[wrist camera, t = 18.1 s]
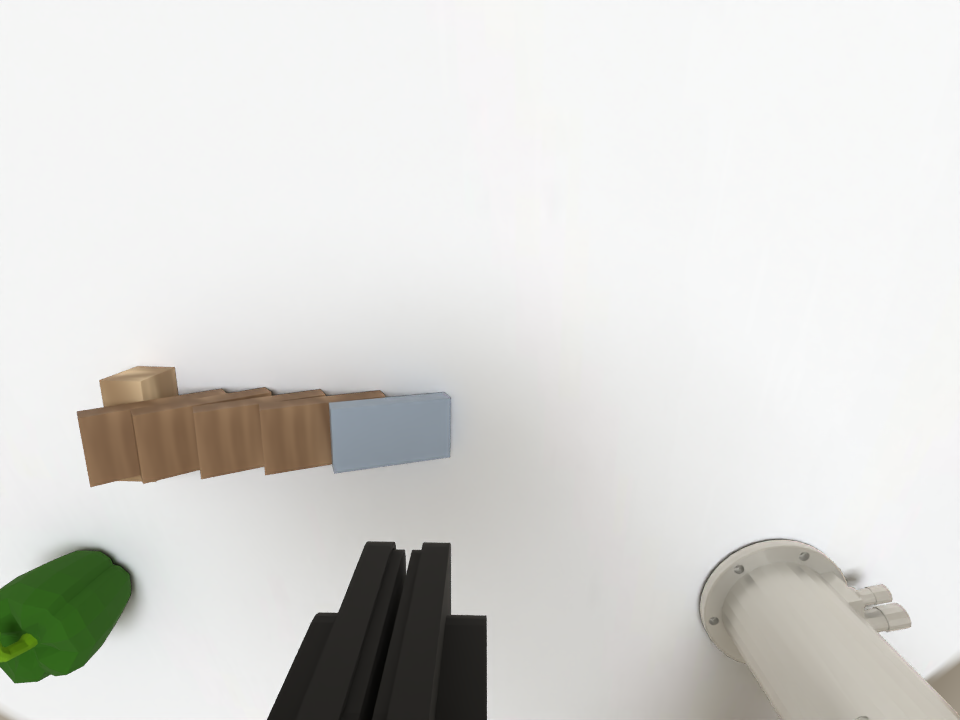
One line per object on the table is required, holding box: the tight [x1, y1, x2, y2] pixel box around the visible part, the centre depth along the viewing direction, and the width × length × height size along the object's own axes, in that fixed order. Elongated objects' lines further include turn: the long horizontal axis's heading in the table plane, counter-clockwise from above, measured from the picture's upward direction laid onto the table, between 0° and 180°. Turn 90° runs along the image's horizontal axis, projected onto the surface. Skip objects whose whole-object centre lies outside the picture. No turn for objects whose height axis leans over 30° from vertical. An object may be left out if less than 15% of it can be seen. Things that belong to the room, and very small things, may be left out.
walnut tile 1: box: [259, 390, 385, 475], centre depth 38 cm, size 2×5×9 cm
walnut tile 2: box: [192, 389, 326, 479], centre depth 37 cm, size 2×5×9 cm
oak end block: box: [99, 366, 178, 482], centre depth 38 cm, size 3×8×4 cm, turn 178°
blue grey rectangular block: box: [329, 392, 451, 473], centre depth 38 cm, size 2×5×9 cm
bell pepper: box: [0, 550, 131, 683], centre depth 39 cm, size 8×8×10 cm
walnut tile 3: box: [130, 387, 272, 484], centre depth 37 cm, size 2×5×9 cm
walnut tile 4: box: [77, 389, 227, 487], centre depth 36 cm, size 2×5×9 cm
